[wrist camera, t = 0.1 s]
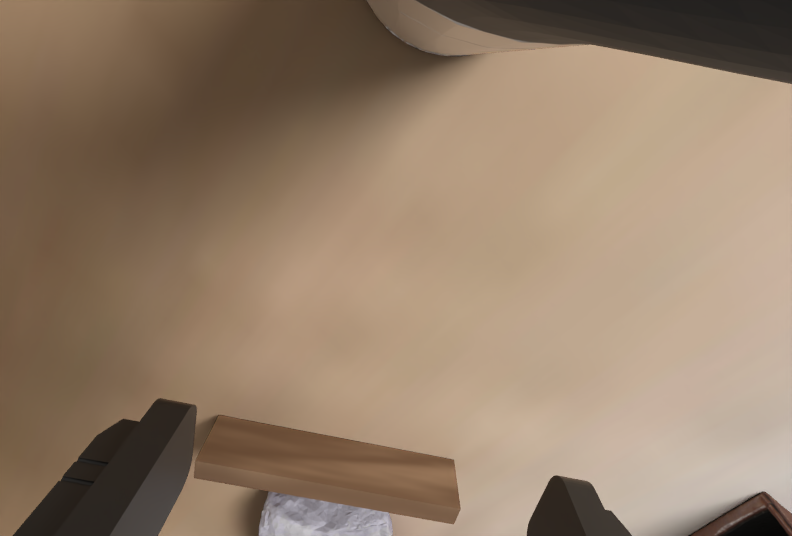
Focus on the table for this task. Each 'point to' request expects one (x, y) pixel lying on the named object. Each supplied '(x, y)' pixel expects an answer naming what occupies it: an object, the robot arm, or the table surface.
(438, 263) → the table surface
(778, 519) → the letter holder
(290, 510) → the stone block
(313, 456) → the pair of wooden bars
